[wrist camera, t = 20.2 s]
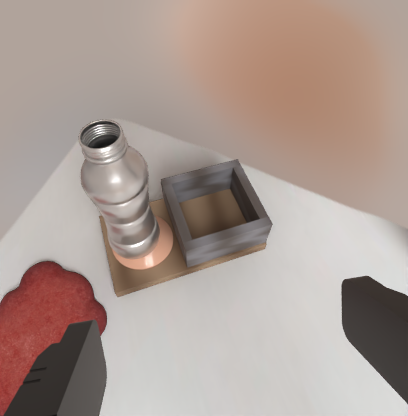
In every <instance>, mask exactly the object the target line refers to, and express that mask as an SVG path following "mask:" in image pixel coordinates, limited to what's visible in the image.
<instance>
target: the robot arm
mask: <svg viewBox="0 0 408 416" xmlns="http://www.w3.org/2000/svg"><path fill="white" fill-rule="evenodd" d="M342 325H343V329H344V332H345V335H346V337H347V339H348V340H349V342H350V343H351V344H352V345H353V346H354V347H355V348H356V349H357V350H358V351H359V352H360V353H361V355H362V356H363V357H364V358H365V359H366V360H367V361H368V362H369V363H370V364H371V365H372V366H373V367H374V368H375V369H376V371H377V372H378V373H379V374H380V375H381V376H382V377H383V378H384V379H385V380H386V381H387V382H388V383H389V384H390V385H391V387H392V388H393V389H394V390H395V391H396V392H397V393H398V394H399V395H400V396H401V397H402V398H403V399H404V400H405V401H406V402H407V404H408V296H407V295H405V294H403V293H400V292H397V291H394V290H392V289H389V288H386V287H385V286H383V285H382V284H380V283H379V282H377V281H375V280H374V279H372V278H371V277H369V276H362V277H356V278H350V279H345V280H344V281H343V282H342ZM29 371H30V372H29V373H28V374H27V375H26V377H25V379H24V381H23V385H21V386H20V387H19V389H18V391H17V393H16V394H15V396H14V398H13V400H12V401H11V403H10V405H9V406H8V408H7V410H6V412H5V413H4V415H3V416H99V413H100V409H101V405H102V400H103V396H104V392H105V387H106V378H107V372H106V362H105V357H104V352H103V347H102V342H101V337H100V332H99V327H98V324H97V321H96V320H89V321H83V322H76V323H71V324H69V325H68V327H67V329H66V331H65V333H64V335H63V337H62V339H61V341H60V342H59V343H53V344H51V345H49V346H48V347H47V348H46V349H45V350H44V351H43V352H42V353H41V354H40V355H38V356H37V358H36V360H35V362H34V363H33V365H32V367H31V368H30V370H29Z"/></svg>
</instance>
